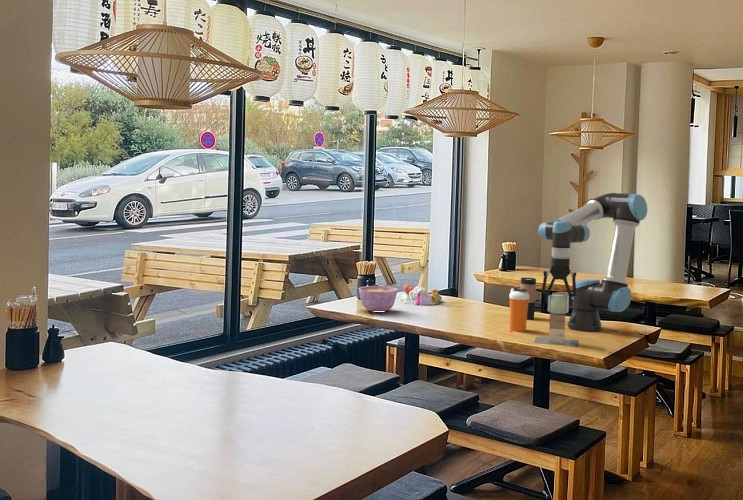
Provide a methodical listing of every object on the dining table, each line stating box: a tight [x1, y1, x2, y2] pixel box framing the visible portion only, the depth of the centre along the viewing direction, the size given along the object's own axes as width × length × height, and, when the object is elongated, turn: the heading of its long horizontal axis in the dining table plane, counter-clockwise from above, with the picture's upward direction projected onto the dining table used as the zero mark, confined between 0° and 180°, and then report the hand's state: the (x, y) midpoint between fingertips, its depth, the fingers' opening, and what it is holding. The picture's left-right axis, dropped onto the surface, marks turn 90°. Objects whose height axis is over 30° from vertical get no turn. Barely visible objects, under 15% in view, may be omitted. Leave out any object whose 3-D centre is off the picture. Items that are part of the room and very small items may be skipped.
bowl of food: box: [358, 285, 398, 311], centre depth 391 cm, size 20×20×12 cm
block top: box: [549, 312, 566, 330], centre depth 325 cm, size 6×6×6 cm
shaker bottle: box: [508, 287, 529, 334], centre depth 347 cm, size 9×9×20 cm
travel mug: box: [519, 277, 537, 321], centre depth 380 cm, size 8×8×20 cm
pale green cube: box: [549, 294, 567, 315], centre depth 324 cm, size 7×7×7 cm
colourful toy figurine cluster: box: [398, 284, 444, 306], centre depth 422 cm, size 25×24×9 cm
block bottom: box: [548, 327, 566, 344], centre depth 325 cm, size 6×6×6 cm
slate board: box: [533, 336, 579, 348], centre depth 326 cm, size 13×18×1 cm
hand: (557, 311), depth 324 cm, fingers closed on pale green cube, 7 cm apart
